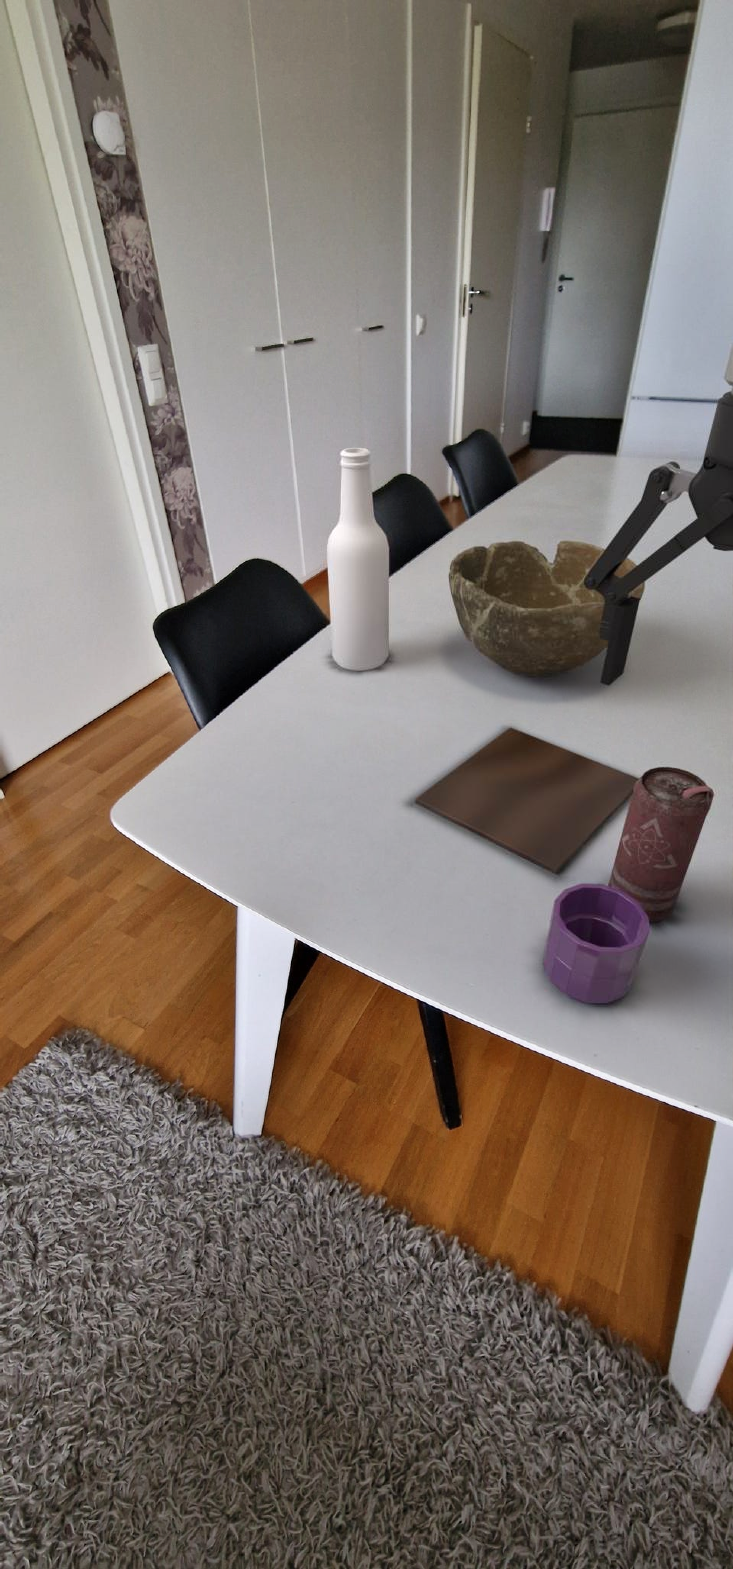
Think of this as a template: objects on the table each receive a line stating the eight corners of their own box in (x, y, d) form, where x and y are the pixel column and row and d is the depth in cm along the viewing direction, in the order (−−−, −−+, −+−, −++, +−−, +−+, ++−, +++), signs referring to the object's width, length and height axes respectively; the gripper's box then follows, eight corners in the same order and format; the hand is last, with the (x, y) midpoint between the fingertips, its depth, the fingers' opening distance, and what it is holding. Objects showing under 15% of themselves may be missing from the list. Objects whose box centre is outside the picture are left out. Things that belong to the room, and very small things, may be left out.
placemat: (641, 783, 82) (642, 779, 82) (555, 874, 71) (556, 869, 70) (509, 731, 92) (510, 727, 92) (415, 802, 80) (415, 798, 80)
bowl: (445, 623, 120) (449, 534, 111) (606, 627, 118) (624, 536, 109) (442, 704, 98) (448, 601, 89) (641, 711, 95) (667, 606, 87)
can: (685, 924, 65) (729, 806, 57) (615, 924, 65) (649, 806, 57) (663, 878, 70) (701, 763, 61) (599, 878, 70) (628, 763, 62)
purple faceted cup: (645, 967, 61) (664, 911, 57) (605, 1024, 57) (623, 968, 52) (568, 925, 65) (581, 870, 61) (526, 975, 61) (536, 920, 56)
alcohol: (394, 669, 107) (395, 455, 89) (337, 675, 105) (326, 460, 88) (382, 644, 114) (381, 442, 96) (328, 649, 112) (317, 445, 94)
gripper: (1066, 403, 37) (891, 741, 50) (618, 370, 50) (571, 643, 63) (1056, 425, 32) (867, 790, 45) (567, 382, 46) (527, 674, 58)
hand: (694, 705), depth 54 cm, fingers open, 13 cm apart
